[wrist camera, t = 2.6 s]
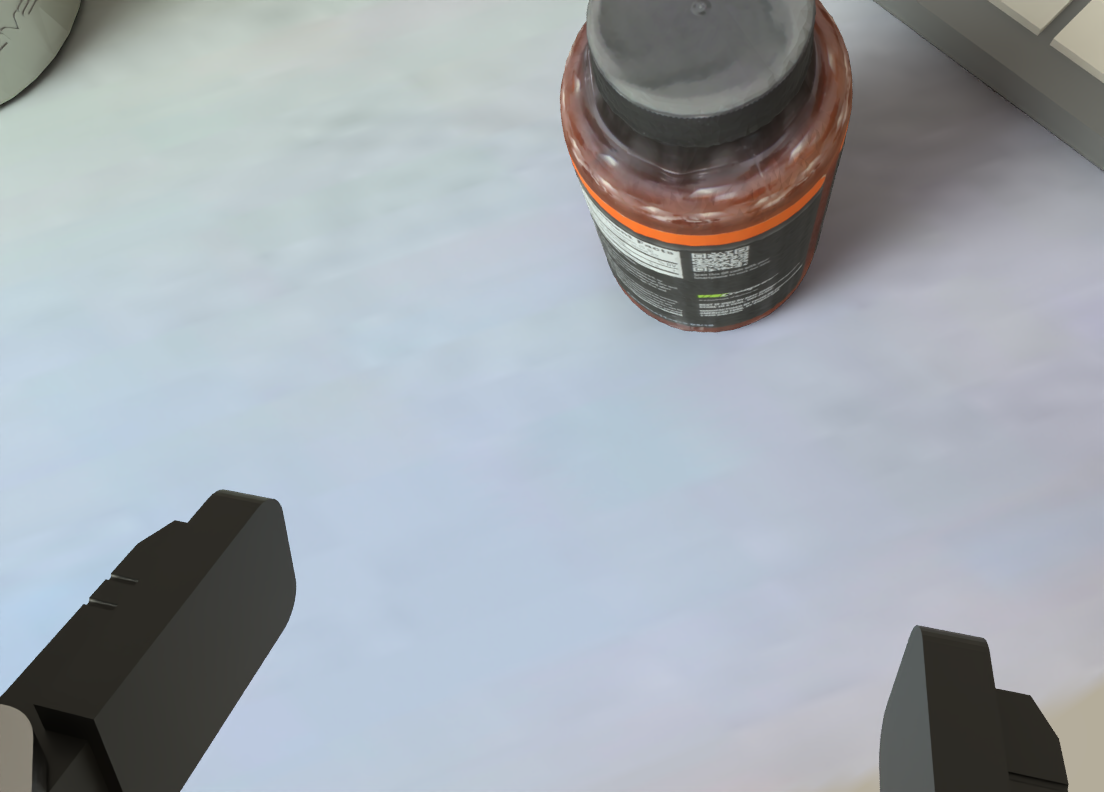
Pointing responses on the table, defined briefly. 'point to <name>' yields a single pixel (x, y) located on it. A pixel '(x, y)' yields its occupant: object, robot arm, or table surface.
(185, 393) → the table surface
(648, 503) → the table surface
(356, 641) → the table surface
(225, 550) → the robot arm
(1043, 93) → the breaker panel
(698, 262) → the supplement bottle
